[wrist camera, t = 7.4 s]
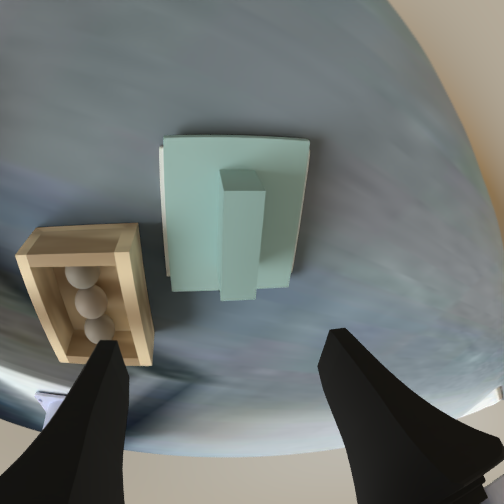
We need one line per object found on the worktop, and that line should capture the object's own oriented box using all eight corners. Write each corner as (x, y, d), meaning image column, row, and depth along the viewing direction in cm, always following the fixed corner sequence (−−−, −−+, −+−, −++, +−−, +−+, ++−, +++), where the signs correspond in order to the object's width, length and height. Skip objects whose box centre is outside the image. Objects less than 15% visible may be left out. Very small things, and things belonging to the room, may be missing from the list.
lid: (285, 281, 21) (300, 318, 18) (172, 285, 20) (170, 325, 17) (306, 138, 16) (332, 156, 13) (164, 135, 15) (155, 153, 12)
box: (154, 332, 22) (151, 365, 20) (69, 331, 21) (60, 362, 19) (138, 222, 18) (129, 252, 15) (36, 227, 17) (15, 255, 14)
